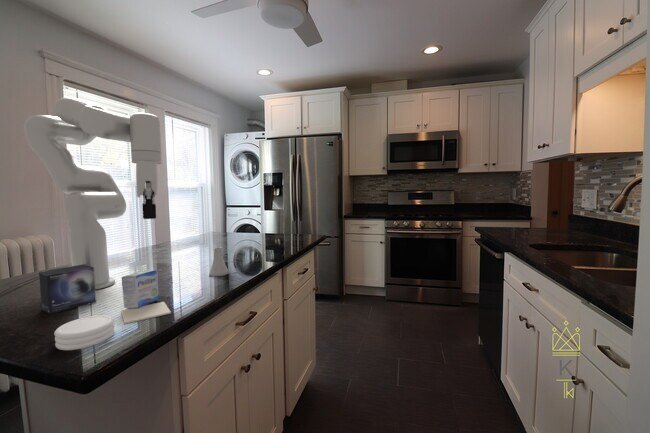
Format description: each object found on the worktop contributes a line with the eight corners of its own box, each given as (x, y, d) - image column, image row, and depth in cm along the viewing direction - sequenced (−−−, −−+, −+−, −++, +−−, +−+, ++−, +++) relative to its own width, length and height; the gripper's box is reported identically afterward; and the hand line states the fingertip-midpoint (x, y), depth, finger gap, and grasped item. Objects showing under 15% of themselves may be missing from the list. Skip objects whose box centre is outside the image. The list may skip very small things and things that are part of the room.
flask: (225, 276, 112) (224, 249, 112) (205, 277, 112) (204, 250, 112) (231, 271, 120) (230, 246, 119) (213, 272, 120) (211, 246, 119)
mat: (121, 311, 81) (121, 310, 81) (164, 303, 87) (163, 301, 86) (124, 324, 73) (124, 322, 73) (170, 313, 79) (170, 311, 79)
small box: (49, 315, 79) (46, 275, 78) (40, 310, 83) (37, 271, 82) (97, 302, 88) (94, 266, 87) (87, 298, 92) (84, 263, 91)
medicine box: (137, 308, 81) (135, 275, 81) (123, 308, 82) (120, 276, 82) (159, 299, 89) (157, 269, 89) (146, 299, 90) (143, 269, 90)
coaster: (92, 327, 72) (91, 312, 72) (125, 331, 69) (124, 316, 69) (43, 348, 63) (41, 331, 62) (79, 354, 60) (77, 337, 60)
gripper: (132, 159, 95) (135, 215, 97) (130, 154, 80) (133, 220, 82) (160, 161, 99) (162, 214, 100) (162, 156, 84) (165, 219, 85)
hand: (149, 217), depth 91 cm, fingers open, 9 cm apart
